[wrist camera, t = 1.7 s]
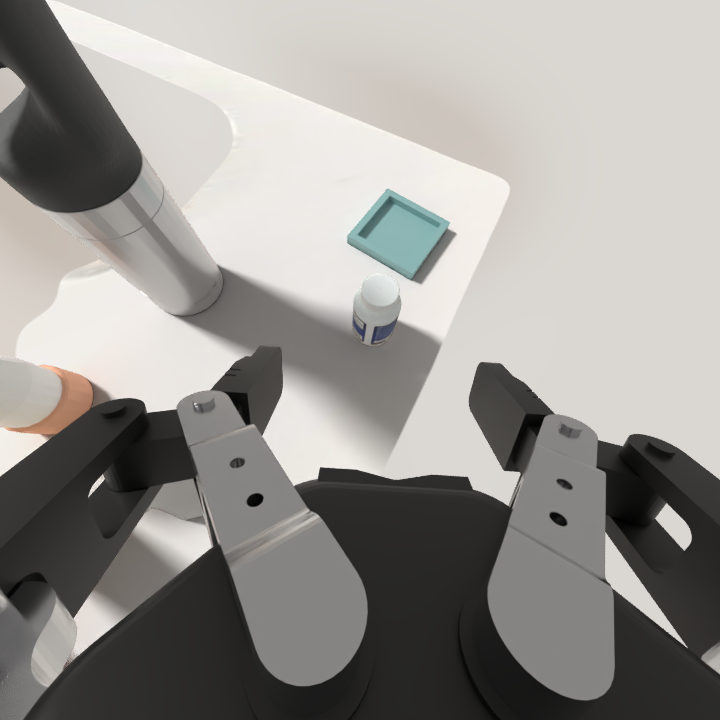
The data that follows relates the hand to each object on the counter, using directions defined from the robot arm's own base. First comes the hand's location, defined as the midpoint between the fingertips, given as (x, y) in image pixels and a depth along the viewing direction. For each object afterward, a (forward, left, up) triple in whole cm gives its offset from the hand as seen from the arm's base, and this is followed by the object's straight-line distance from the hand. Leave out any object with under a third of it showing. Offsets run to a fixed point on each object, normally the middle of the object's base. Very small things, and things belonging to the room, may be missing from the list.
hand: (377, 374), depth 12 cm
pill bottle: (-6, +12, -25) cm, 28 cm away
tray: (-11, +27, -25) cm, 38 cm away
